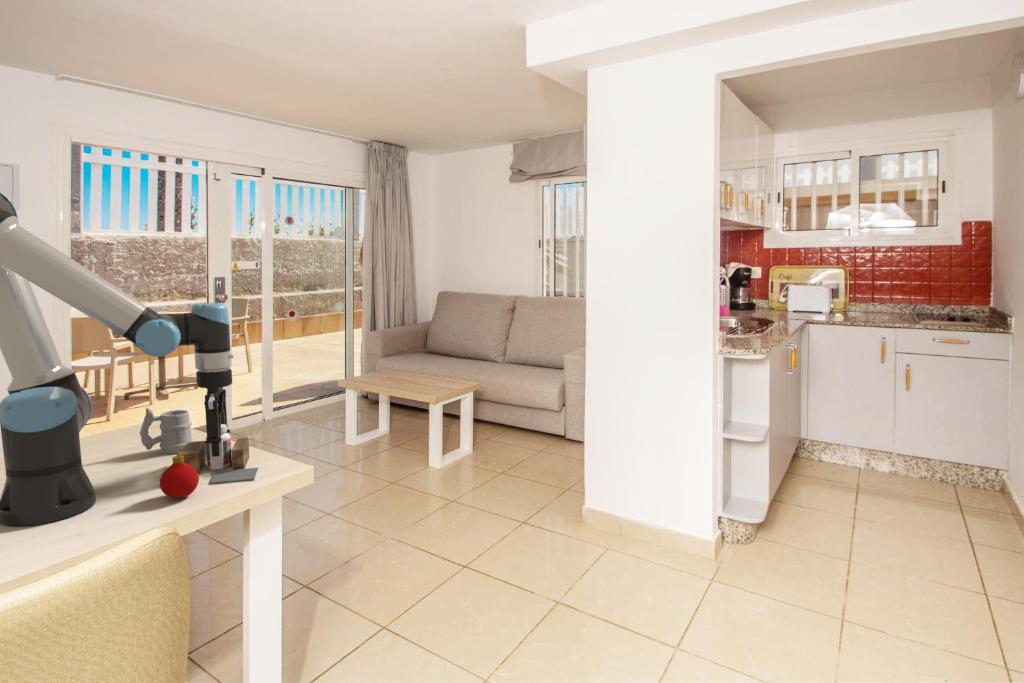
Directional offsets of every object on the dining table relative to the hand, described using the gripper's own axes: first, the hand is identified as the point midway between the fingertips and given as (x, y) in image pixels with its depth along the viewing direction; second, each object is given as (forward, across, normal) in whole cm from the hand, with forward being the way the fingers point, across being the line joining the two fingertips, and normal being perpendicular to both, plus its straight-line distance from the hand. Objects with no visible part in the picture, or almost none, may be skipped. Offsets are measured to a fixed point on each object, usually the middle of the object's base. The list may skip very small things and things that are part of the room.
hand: (219, 464), depth 143 cm
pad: (0, -9, -4) cm, 10 cm away
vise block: (0, 0, 0) cm, 0 cm away
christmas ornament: (+1, -19, +4) cm, 19 cm away
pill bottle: (+1, 0, 0) cm, 1 cm away
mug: (+1, +16, +14) cm, 21 cm away
